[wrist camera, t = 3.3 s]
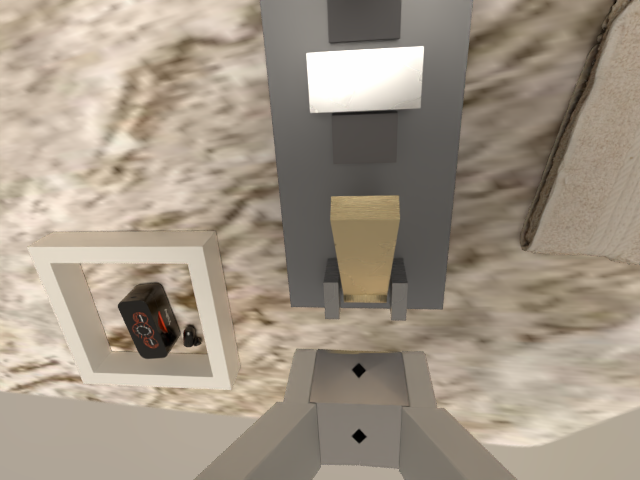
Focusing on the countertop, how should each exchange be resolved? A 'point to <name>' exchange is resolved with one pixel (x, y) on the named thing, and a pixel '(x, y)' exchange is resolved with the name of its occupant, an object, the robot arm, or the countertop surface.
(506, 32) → the countertop surface
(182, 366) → the white square frame
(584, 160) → the washcloth
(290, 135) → the lug board
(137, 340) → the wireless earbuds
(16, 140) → the countertop surface
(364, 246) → the brass strap
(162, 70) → the countertop surface
